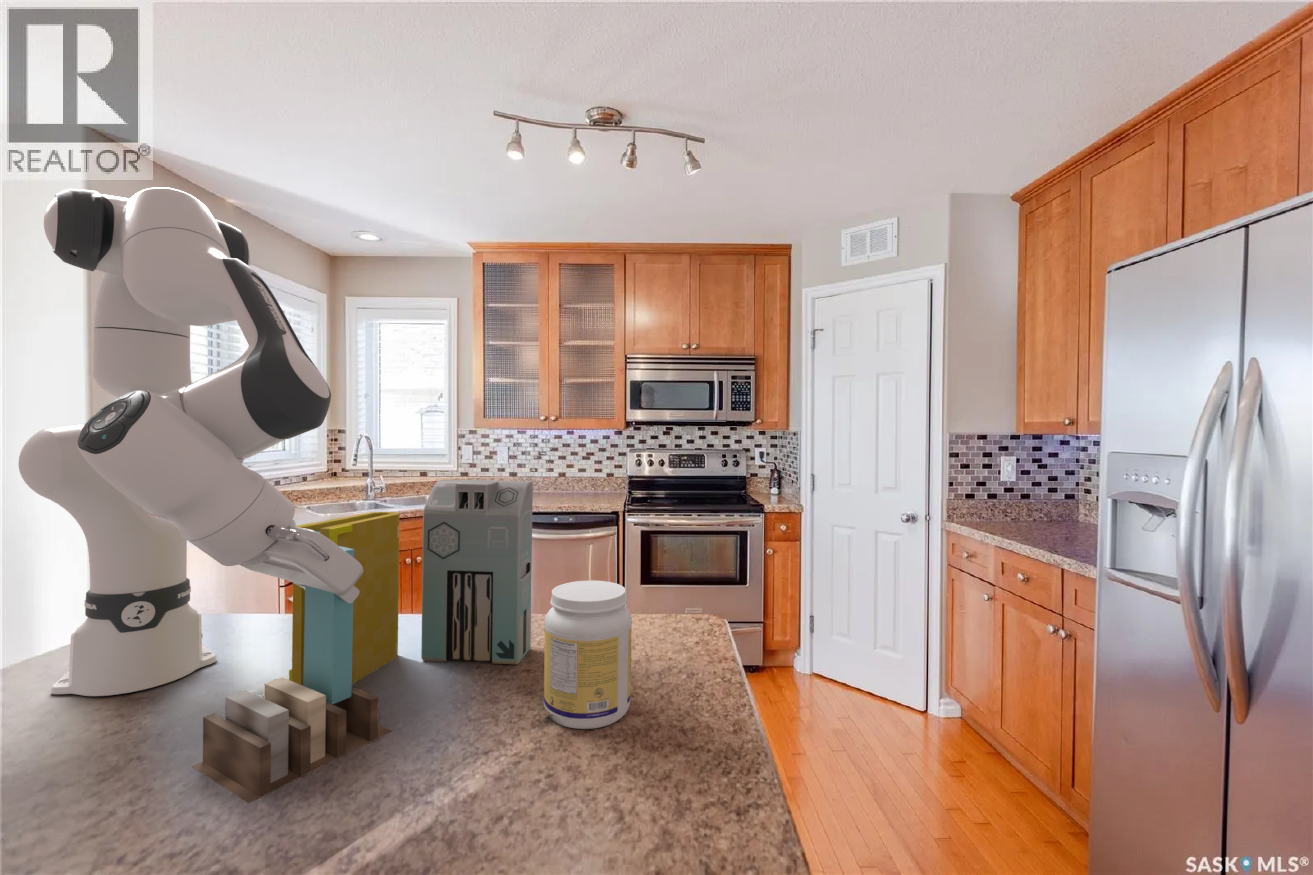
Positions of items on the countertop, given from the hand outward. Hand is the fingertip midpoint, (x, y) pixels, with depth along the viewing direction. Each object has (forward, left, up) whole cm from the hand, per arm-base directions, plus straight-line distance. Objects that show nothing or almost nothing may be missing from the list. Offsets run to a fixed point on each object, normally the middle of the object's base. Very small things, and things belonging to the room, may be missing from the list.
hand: (334, 592), depth 70 cm
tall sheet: (0, -1, -12) cm, 12 cm away
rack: (+2, -4, -19) cm, 19 cm away
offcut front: (+3, -8, -17) cm, 19 cm away
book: (-17, +6, -19) cm, 26 cm away
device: (-15, +25, -19) cm, 35 cm away
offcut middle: (+2, -4, -17) cm, 18 cm away
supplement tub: (+13, +29, -19) cm, 37 cm away
